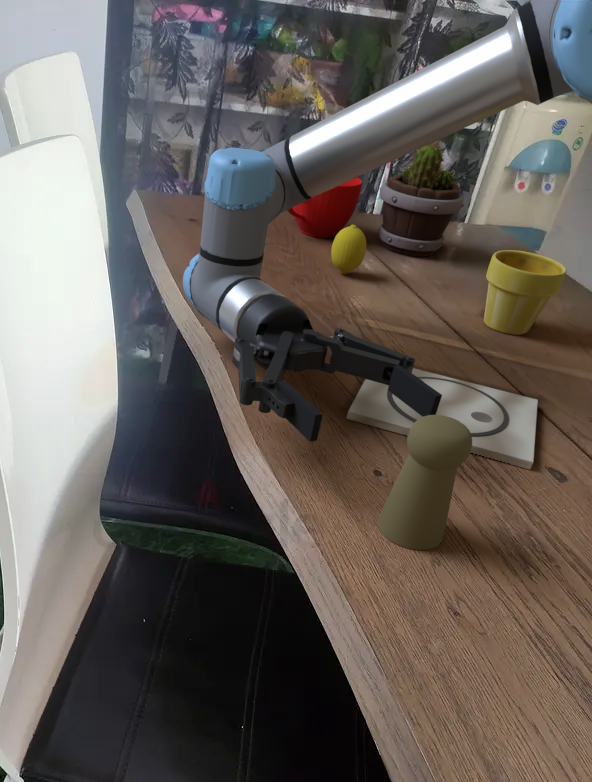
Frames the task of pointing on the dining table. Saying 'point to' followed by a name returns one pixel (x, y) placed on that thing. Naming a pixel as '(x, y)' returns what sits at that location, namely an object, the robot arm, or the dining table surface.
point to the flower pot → (519, 289)
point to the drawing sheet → (459, 415)
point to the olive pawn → (425, 483)
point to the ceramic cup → (328, 210)
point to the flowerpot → (419, 204)
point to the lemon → (348, 249)
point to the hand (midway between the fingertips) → (378, 418)
